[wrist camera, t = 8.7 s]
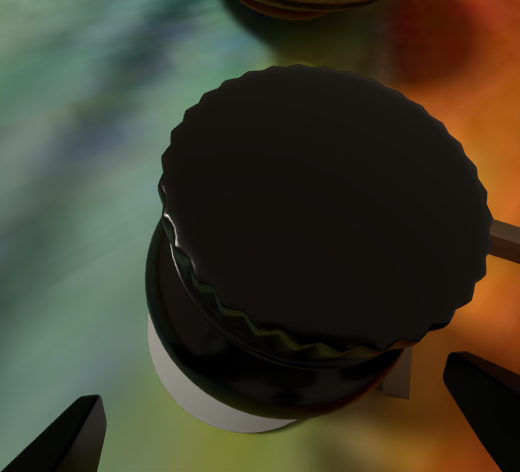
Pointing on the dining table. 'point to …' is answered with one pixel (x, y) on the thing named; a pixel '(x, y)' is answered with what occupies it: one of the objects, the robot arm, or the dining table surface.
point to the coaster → (202, 396)
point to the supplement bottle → (309, 238)
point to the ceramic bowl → (302, 7)
